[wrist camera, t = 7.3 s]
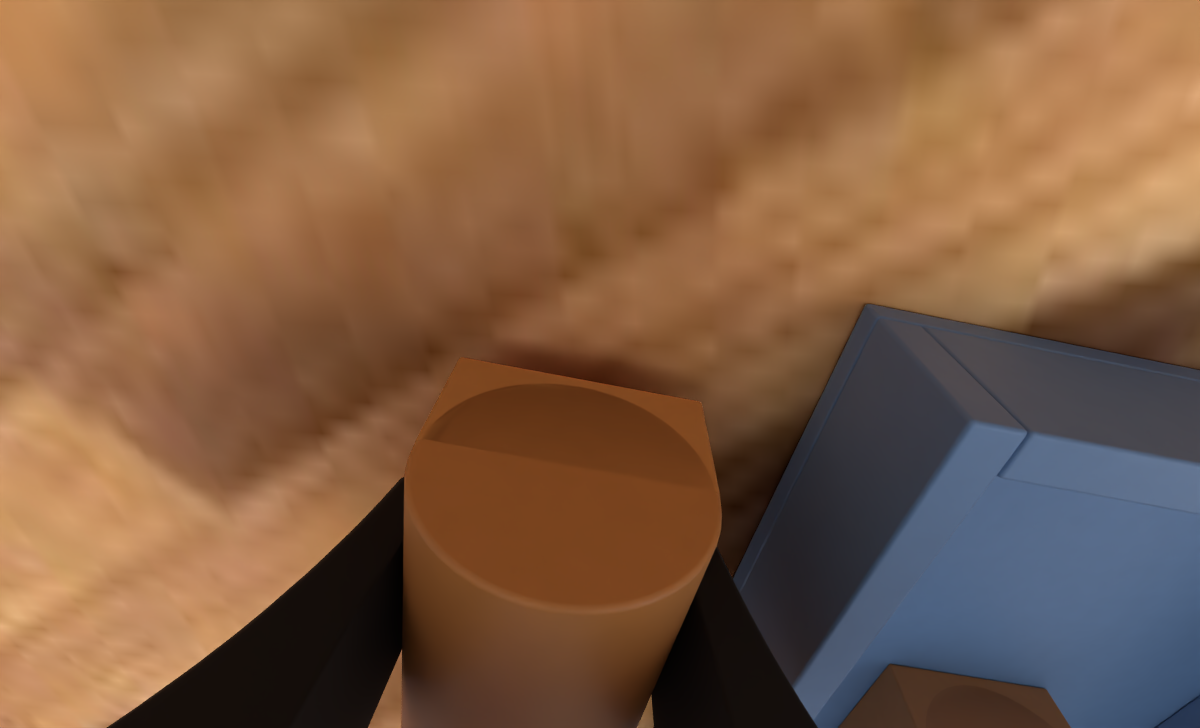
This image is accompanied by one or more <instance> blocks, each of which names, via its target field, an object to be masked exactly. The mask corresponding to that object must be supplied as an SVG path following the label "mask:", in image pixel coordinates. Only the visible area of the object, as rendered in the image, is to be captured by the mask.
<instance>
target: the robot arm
mask: <svg viewBox="0 0 1200 728" xmlns="http://www.w3.org/2000/svg"><path fill="white" fill-rule="evenodd" d="M403 538H404V477H403V478H401V479H400V480H399V481H398V482H397V483H396V484H395V486H394V487H393V488H392V489H391V490H390V491H389V492H388V493H387V494H386V496H385V497H384V498H383V499H382V500H381V501H380V502H379V503H378V504H377V505H376V506H375V507H374V508H373V510H372V511H371V512H370V513H369V514H368V515H367V516H366V517H365V518H364V519H363V520H362V521H361V522H360V523H359V524H358V525H357V526H356V527H355V528H354V529H353V530H352V531H351V532H350V533H349V534H348V535H347V536H346V537H345V538H344V539H343V540H342V541H341V542H340V543H339V544H338V545H336V546H335V547H334V548H333V549H332V550H331V551H330V552H329V553H328V554H327V555H326V556H325V557H324V558H323V559H322V560H321V561H320V562H319V563H318V564H317V565H316V566H314V567H313V568H312V569H311V570H310V571H309V572H308V573H307V574H306V575H305V576H303V577H302V578H301V579H300V580H299V581H298V582H296V583H295V584H294V585H293V586H292V587H291V588H290V589H288V590H287V591H286V592H285V593H284V594H283V595H282V596H280V597H279V598H278V599H277V600H276V601H275V602H274V603H272V604H271V605H270V606H269V607H268V608H267V609H266V610H264V611H263V612H262V613H261V614H260V615H258V616H257V617H256V618H255V619H253V620H252V621H251V622H250V623H249V624H247V625H246V626H245V627H244V628H242V629H241V630H240V631H239V632H237V633H236V634H235V635H234V636H232V637H231V638H230V639H229V640H227V641H226V642H225V643H223V644H222V645H221V646H220V647H218V648H217V649H216V650H214V651H213V652H212V653H210V654H209V655H208V656H207V657H205V658H204V659H203V660H201V661H200V662H199V663H197V664H196V665H195V666H193V667H192V668H191V669H189V670H188V671H187V672H185V673H184V674H182V675H181V676H180V677H178V678H177V679H175V680H174V681H173V682H171V683H170V684H168V685H167V686H166V687H164V688H163V689H162V690H160V691H159V692H157V693H156V694H155V695H153V696H152V697H150V698H149V699H148V700H146V701H145V702H143V703H142V704H141V705H139V706H138V707H136V708H135V709H133V710H132V711H131V712H129V713H128V714H126V715H125V716H123V717H122V718H120V719H119V720H117V721H116V722H115V723H113V724H112V725H110V726H109V727H107V728H368V726H369V724H370V721H371V719H372V717H373V714H374V712H375V710H376V707H377V705H378V703H379V700H380V698H381V696H382V694H383V691H384V689H385V687H386V684H387V682H388V680H389V677H390V675H391V673H392V671H393V668H394V666H395V664H396V661H397V659H398V657H399V654H400V652H401V650H402V624H403ZM651 695H652V707H653V720H654V728H818V727H817V725H816V724H815V722H814V721H813V719H812V717H811V716H810V714H809V713H808V711H807V710H806V708H805V707H804V705H803V703H802V702H801V700H800V699H799V697H798V695H797V694H796V692H795V690H794V689H793V687H792V686H791V684H790V682H789V681H788V679H787V677H786V676H785V674H784V672H783V671H782V669H781V667H780V666H779V664H778V662H777V660H776V659H775V657H774V655H773V654H772V652H771V650H770V648H769V647H768V645H767V643H766V641H765V639H764V637H763V636H762V634H761V632H760V630H759V628H758V627H757V625H756V623H755V621H754V619H753V617H752V616H751V614H750V612H749V610H748V608H747V606H746V604H745V602H744V600H743V598H742V597H741V595H740V593H739V591H738V589H737V587H736V585H735V583H734V581H733V579H732V577H731V575H730V573H729V571H728V568H727V566H726V564H725V562H724V560H723V558H722V556H721V554H720V552H719V550H718V547H717V546H716V549H715V551H714V553H713V555H712V558H711V560H710V562H709V565H708V567H707V569H706V571H705V574H704V576H703V578H702V580H701V583H700V585H699V587H698V590H697V592H696V594H695V596H694V599H693V601H692V603H691V605H690V608H689V610H688V612H687V614H686V617H685V619H684V621H683V624H682V626H681V628H680V630H679V633H678V635H677V637H676V639H675V642H674V644H673V646H672V649H671V651H670V653H669V655H668V658H667V660H666V662H665V664H664V667H663V669H662V671H661V673H660V676H659V678H658V680H657V683H656V685H655V687H654V689H653V692H652V694H651Z"/></svg>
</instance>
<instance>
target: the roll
mask: <svg viewBox="0 0 1200 728" xmlns="http://www.w3.org/2000/svg"><path fill="white" fill-rule="evenodd" d="M838 728H1071V727H1070V725H1069V724H1068V722H1067V720H1066V719H1065V717H1064V716H1063V714H1062V713H1061V711H1060V710H1059V708H1058V706H1057V705H1056V703H1055V702H1054V700H1053V699H1052V697H1051V696H1050V694H1049V692H1048V691H1047V690H1046V689H1044V688H1037V687H1031V686H1025V685H1019V684H1013V683H1006V682H1000V681H994V680H988V679H981V678H975V677H969V676H963V675H957V674H950V673H944V672H938V671H932V670H925V669H919V668H913V667H907V666H901V665H894V664H889V665H888V666H887V667H886V669H885V670H884V671H883V672H882V674H881V675H880V676H879V677H878V679H877V680H876V681H875V682H874V684H873V685H872V686H871V687H870V689H869V690H868V691H867V692H866V694H865V695H864V696H863V697H862V698H861V700H860V701H859V702H858V703H857V705H856V706H855V707H854V708H853V710H852V711H851V712H850V713H849V715H848V716H847V717H846V718H845V720H844V721H843V722H842V723H841V725H840V726H839V727H838Z"/></svg>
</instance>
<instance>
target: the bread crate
mask: <svg viewBox="0 0 1200 728" xmlns="http://www.w3.org/2000/svg"><path fill="white" fill-rule="evenodd" d="M733 581H734V583H735V585H736V587H737V589H738V591H739V593H740V595H741V597H742V598H743V600H744V602H745V604H746V606H747V608H748V610H749V612H750V614H751V616H752V617H753V619H754V621H755V623H756V625H757V627H758V628H759V630H760V632H761V634H762V636H763V637H764V639H765V641H766V643H767V645H768V647H769V648H770V650H771V652H772V654H773V655H774V657H775V659H776V660H777V662H778V664H779V666H780V667H781V669H782V671H783V672H784V674H785V676H786V677H787V679H788V681H789V682H790V684H791V686H792V687H793V689H794V690H795V692H796V694H797V695H798V697H799V699H800V700H801V702H802V703H803V705H804V707H805V708H806V710H807V711H808V713H809V714H810V716H811V717H812V719H813V721H814V722H815V724H816V725H817V727H818V728H838V727H839V726H840V725H841V723H842V722H843V721H844V720H845V718H846V717H847V716H848V715H849V713H850V712H851V711H852V710H853V708H854V707H855V706H856V705H857V703H858V702H859V701H860V700H861V698H862V697H863V696H864V695H865V694H866V692H867V691H868V690H869V689H870V687H871V686H872V685H873V684H874V682H875V681H876V680H877V679H878V677H879V676H880V675H881V674H882V672H883V671H884V670H885V669H886V667H887V666H888V665H889V664H894V665H901V666H907V667H913V668H919V669H925V670H932V671H938V672H944V673H950V674H957V675H963V676H969V677H975V678H981V679H988V680H994V681H1000V682H1006V683H1013V684H1019V685H1025V686H1031V687H1037V688H1044V689H1046V690H1047V691H1048V692H1049V694H1050V696H1051V697H1052V699H1053V700H1054V702H1055V703H1056V705H1057V706H1058V708H1059V710H1060V711H1061V713H1062V714H1063V716H1064V717H1065V719H1066V720H1067V722H1068V724H1069V725H1070V727H1071V728H1200V370H1196V369H1191V368H1186V367H1181V366H1176V365H1171V364H1166V363H1161V362H1156V361H1151V360H1146V359H1141V358H1136V357H1131V356H1126V355H1121V354H1116V353H1111V352H1106V351H1101V350H1096V349H1091V348H1086V347H1081V346H1076V345H1071V344H1067V343H1062V342H1057V341H1052V340H1047V339H1042V338H1037V337H1032V336H1027V335H1022V334H1017V333H1012V332H1007V331H1002V330H997V329H992V328H987V327H982V326H977V325H972V324H967V323H962V322H957V321H952V320H947V319H942V318H937V317H932V316H927V315H922V314H917V313H912V312H907V311H902V310H897V309H892V308H887V307H882V306H877V305H872V304H866V305H865V307H864V309H863V311H862V313H861V315H860V317H859V319H858V321H857V323H856V325H855V327H854V329H853V331H852V333H851V335H850V338H849V340H848V342H847V344H846V346H845V348H844V350H843V352H842V354H841V356H840V358H839V360H838V362H837V364H836V367H835V369H834V371H833V373H832V375H831V377H830V379H829V381H828V383H827V385H826V387H825V389H824V391H823V393H822V395H821V398H820V400H819V402H818V404H817V406H816V408H815V410H814V412H813V414H812V416H811V418H810V420H809V422H808V424H807V426H806V429H805V431H804V433H803V435H802V437H801V439H800V441H799V443H798V445H797V447H796V449H795V451H794V453H793V455H792V458H791V460H790V462H789V464H788V466H787V468H786V470H785V472H784V474H783V476H782V478H781V480H780V482H779V484H778V486H777V489H776V491H775V493H774V495H773V497H772V499H771V501H770V503H769V505H768V507H767V509H766V511H765V513H764V515H763V517H762V520H761V522H760V524H759V526H758V528H757V530H756V532H755V534H754V536H753V538H752V540H751V542H750V544H749V546H748V549H747V551H746V553H745V555H744V557H743V559H742V561H741V563H740V565H739V567H738V569H737V571H736V573H735V575H734V577H733Z"/></svg>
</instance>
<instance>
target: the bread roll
mask: <svg viewBox="0 0 1200 728" xmlns="http://www.w3.org/2000/svg"><path fill="white" fill-rule="evenodd" d="M721 523H722V510H721V501H720V492H719V487H718V482H717V477H716V472H715V467H714V462H713V457H712V452H711V447H710V442H709V437H708V432H707V427H706V422H705V417H704V412H703V407H702V403H701V402H699V401H695V400H689V399H684V398H679V397H673V396H668V395H662V394H657V393H652V392H646V391H641V390H636V389H630V388H625V387H620V386H614V385H609V384H604V383H598V382H593V381H587V380H582V379H577V378H571V377H566V376H561V375H555V374H550V373H545V372H539V371H534V370H529V369H523V368H518V367H512V366H507V365H502V364H496V363H491V362H486V361H480V360H475V359H470V358H464V357H461V358H459V360H458V361H457V363H456V365H455V367H454V369H453V371H452V373H451V375H450V376H449V378H448V380H447V382H446V384H445V386H444V388H443V390H442V392H441V393H440V395H439V397H438V399H437V401H436V403H435V405H434V407H433V409H432V411H431V412H430V414H429V416H428V418H427V420H426V422H425V424H424V426H423V428H422V429H421V431H420V433H419V435H418V437H417V439H416V441H415V444H414V446H413V448H412V450H411V453H410V455H409V458H408V460H407V465H406V469H405V474H404V538H403V624H402V710H401V727H402V728H637V726H638V723H639V721H640V719H641V717H642V714H643V712H644V710H645V708H646V705H647V703H648V701H649V698H650V696H651V694H652V692H653V689H654V687H655V685H656V683H657V680H658V678H659V676H660V673H661V671H662V669H663V667H664V664H665V662H666V660H667V658H668V655H669V653H670V651H671V649H672V646H673V644H674V642H675V639H676V637H677V635H678V633H679V630H680V628H681V626H682V624H683V621H684V619H685V617H686V614H687V612H688V610H689V608H690V605H691V603H692V601H693V599H694V596H695V594H696V592H697V590H698V587H699V585H700V583H701V580H702V578H703V576H704V574H705V571H706V569H707V567H708V565H709V562H710V560H711V558H712V555H713V553H714V551H715V549H716V546H717V544H718V540H719V536H720V532H721Z"/></svg>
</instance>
